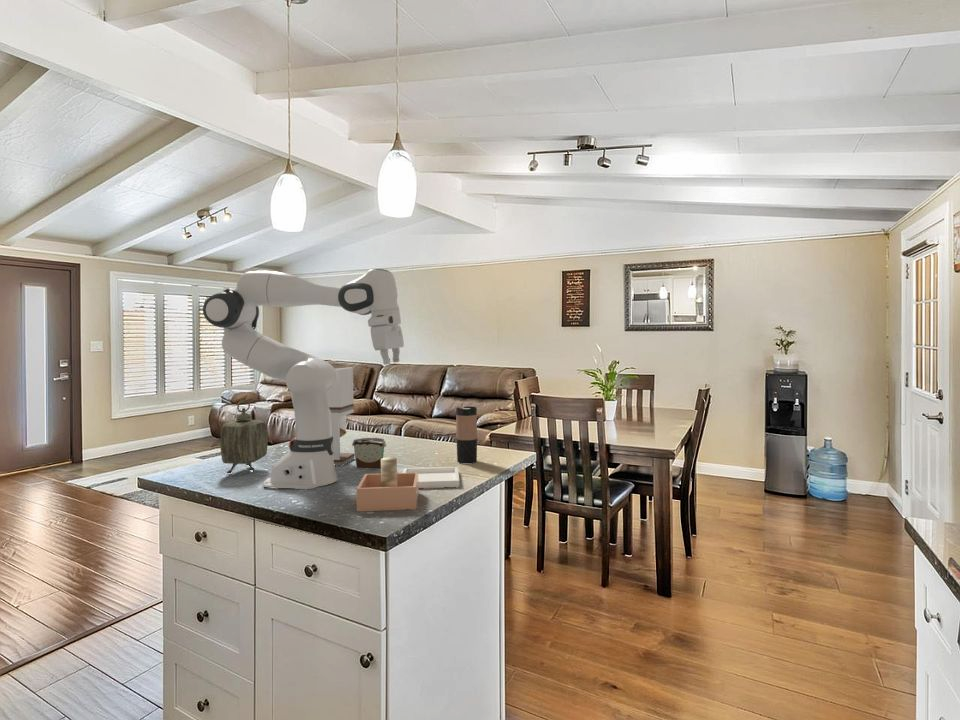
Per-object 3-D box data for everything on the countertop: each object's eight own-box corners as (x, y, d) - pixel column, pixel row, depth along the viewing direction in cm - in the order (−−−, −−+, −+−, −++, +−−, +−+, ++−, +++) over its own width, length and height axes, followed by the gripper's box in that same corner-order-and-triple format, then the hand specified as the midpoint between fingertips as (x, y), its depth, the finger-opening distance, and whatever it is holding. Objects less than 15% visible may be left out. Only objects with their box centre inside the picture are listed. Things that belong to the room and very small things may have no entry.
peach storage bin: (356, 511, 141) (356, 488, 141) (365, 494, 157) (364, 474, 157) (416, 509, 143) (415, 487, 142) (418, 492, 158) (418, 472, 158)
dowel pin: (380, 504, 147) (379, 461, 147) (382, 499, 152) (381, 457, 151) (396, 503, 148) (396, 460, 147) (398, 498, 152) (397, 457, 152)
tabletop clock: (246, 466, 194) (244, 397, 193) (269, 467, 192) (268, 397, 191) (221, 476, 179) (219, 402, 178) (246, 477, 178) (244, 402, 177)
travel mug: (475, 464, 193) (474, 409, 192) (454, 463, 194) (453, 408, 194) (479, 459, 200) (478, 406, 200) (459, 459, 202) (458, 406, 201)
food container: (391, 465, 192) (391, 438, 192) (385, 469, 186) (384, 441, 186) (360, 464, 195) (359, 437, 195) (352, 468, 189) (352, 440, 189)
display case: (342, 465, 193) (340, 368, 192) (314, 464, 195) (312, 369, 194) (354, 458, 205) (352, 367, 203) (328, 457, 206) (326, 367, 205)
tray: (400, 489, 162) (399, 482, 162) (404, 474, 180) (403, 468, 180) (459, 487, 163) (459, 480, 163) (457, 472, 181) (457, 466, 181)
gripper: (387, 321, 180) (392, 362, 180) (365, 320, 160) (371, 366, 160) (405, 319, 179) (410, 360, 179) (385, 318, 159) (391, 364, 159)
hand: (391, 363), depth 170 cm, fingers open, 8 cm apart
